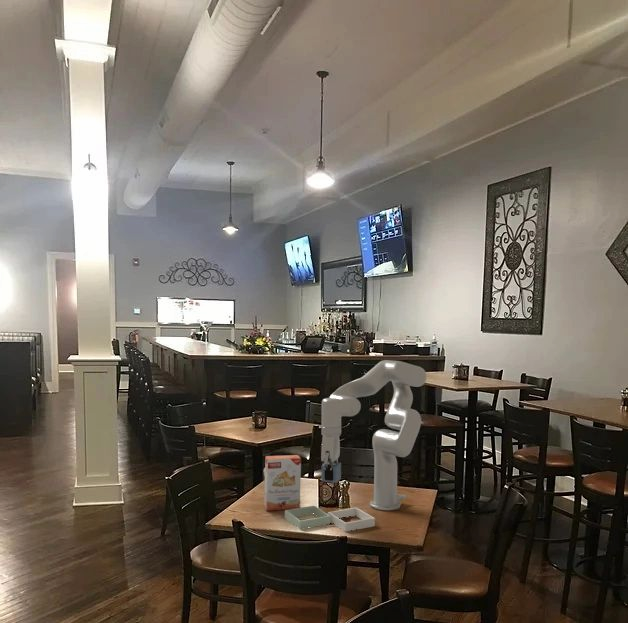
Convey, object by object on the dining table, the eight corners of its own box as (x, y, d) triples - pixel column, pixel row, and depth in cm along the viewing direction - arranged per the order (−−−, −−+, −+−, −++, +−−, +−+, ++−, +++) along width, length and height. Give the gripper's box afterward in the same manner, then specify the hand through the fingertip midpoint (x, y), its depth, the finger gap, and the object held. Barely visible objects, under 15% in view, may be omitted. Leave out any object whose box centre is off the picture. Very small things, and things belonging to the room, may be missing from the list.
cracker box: (266, 511, 221) (267, 459, 221) (263, 506, 227) (264, 455, 227) (300, 509, 225) (301, 457, 225) (296, 504, 230) (297, 454, 231)
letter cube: (326, 476, 215) (326, 461, 215) (340, 478, 213) (340, 462, 213) (321, 481, 209) (321, 465, 209) (336, 482, 208) (336, 466, 208)
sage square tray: (314, 513, 220) (314, 505, 220) (330, 524, 209) (330, 516, 209) (284, 518, 214) (284, 510, 214) (299, 529, 203) (300, 521, 203)
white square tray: (356, 515, 219) (356, 507, 219) (374, 526, 208) (374, 518, 208) (327, 520, 213) (327, 512, 213) (345, 531, 201) (345, 523, 201)
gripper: (328, 425, 221) (328, 470, 221) (315, 434, 204) (315, 483, 204) (346, 426, 218) (346, 472, 218) (334, 436, 202) (334, 485, 202)
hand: (331, 477), depth 211 cm, fingers closed on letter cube, 6 cm apart
